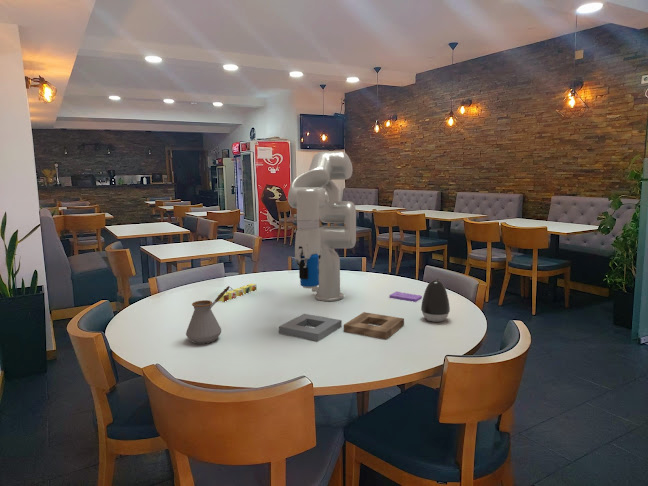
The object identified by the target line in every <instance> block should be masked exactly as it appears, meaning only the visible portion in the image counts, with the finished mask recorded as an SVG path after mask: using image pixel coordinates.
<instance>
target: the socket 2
mask: <svg viewBox="0 0 648 486" xmlns="http://www.w3.org/2000/svg"><path fill="white" fill-rule="evenodd" d="M404 326H405V318H403V317H396V316H392V315H384V314H379V313H373V312H365V311H364V312H362V313H360V314H359V315H357V316H356V317H353V318H352V319H351V320H349V321H347V322H345V323H344V324H343V332H345V333H350V334H353V335H354V334H355V335H360V336H365V337H372V338H378V339H382V340H388V339H389V338H390V337H391V336H393V335H394V334H395V333H396V332H398V331H399V330H401V328H402V327H404Z"/></svg>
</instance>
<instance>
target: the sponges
mask: <svg viewBox="0 0 648 486" xmlns="http://www.w3.org/2000/svg"><path fill="white" fill-rule="evenodd" d="M389 299H394V300H400V301H408V302H412V301H413V302H412V303H416V302H418V301H419V300H421V299H423V295H420V294H413V293H408V292H401V291H394V292H392V293H391V294H389Z"/></svg>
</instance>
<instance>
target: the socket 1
mask: <svg viewBox="0 0 648 486" xmlns="http://www.w3.org/2000/svg"><path fill="white" fill-rule="evenodd" d="M342 322H343V321H342V320H341V319H337V318H332V317H325V316H320V315H315V314H314V315H313V314H309V313H302V314H301V315H298V316H297V317H294V318H293V319H290V320H288V321H287V322H285V323H282V324H281V325H279V326H278V334H281V335H285V336H290V337H295V338H299V339H306V340H308V341H309V340H310V341H315V342H320V341H321V340H323V339H324V338H326V337H327V336H329V335H331V334H332V333H334V332H335V331H337V330H339V329H340V328H342V324H343V323H342ZM309 326H310V327H309Z"/></svg>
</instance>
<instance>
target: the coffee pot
mask: <svg viewBox="0 0 648 486" xmlns="http://www.w3.org/2000/svg"><path fill="white" fill-rule="evenodd" d="M230 289H231V290H230ZM228 291H233V288H232V287H231V286H229V285H227V286H226V288H224V289H223V291H221V292H220V293H219V294H220V295H219V294H218V295H219V296H218V295H217V297H216V298H215V299H214V301H213V302H212V301H211V300H206V299H205V300H197V301H193V302H192V303H191V306H193V312H192V316H191V319H190V321H189V323H188V326H187V328H186V329H187V330H186V332H185V336H186V337H187V339H188V340H189V341H190V342H192V341H193V342H195V343H194V344H196V343H201V344H200V345H206V344H205V343H207V344H210V342H211V343H213V342H215V341H216V340H217V338H218V337H220V335H221V333H222V328H221V326H220V324H219V322H218V320H217V319H216V316H215V314H214V312H213V311H212V308H213V307H214V305H215V304H216V303H218V302H219V301H218V300H219V299H220V298H221V297H222V296H223V295H224V294H226V292H228ZM193 342H192V343H193Z"/></svg>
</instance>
